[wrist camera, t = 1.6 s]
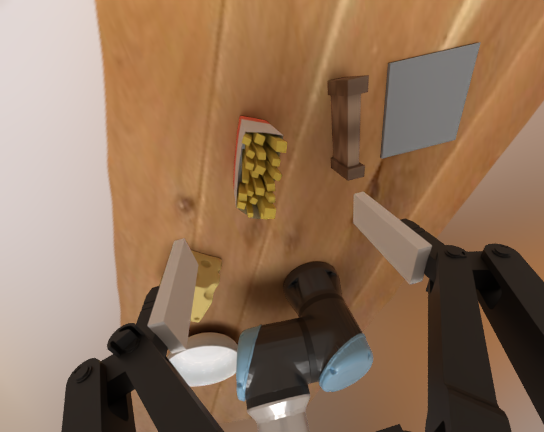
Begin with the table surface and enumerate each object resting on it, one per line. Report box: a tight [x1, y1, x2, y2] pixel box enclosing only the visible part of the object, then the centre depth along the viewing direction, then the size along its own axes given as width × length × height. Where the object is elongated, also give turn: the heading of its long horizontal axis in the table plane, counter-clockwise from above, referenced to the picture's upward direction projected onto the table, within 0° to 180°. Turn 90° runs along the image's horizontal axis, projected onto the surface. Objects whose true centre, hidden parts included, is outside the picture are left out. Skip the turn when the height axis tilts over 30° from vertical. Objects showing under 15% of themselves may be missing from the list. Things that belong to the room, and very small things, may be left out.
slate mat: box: [380, 42, 481, 158], centre depth 40 cm, size 16×16×1 cm
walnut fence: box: [328, 75, 369, 181], centre depth 37 cm, size 15×3×7 cm, turn 11°
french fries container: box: [233, 116, 287, 220], centre depth 31 cm, size 5×11×18 cm, turn 169°
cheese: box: [159, 250, 222, 322], centre depth 46 cm, size 10×11×10 cm
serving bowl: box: [167, 332, 238, 386], centre depth 63 cm, size 21×21×7 cm
